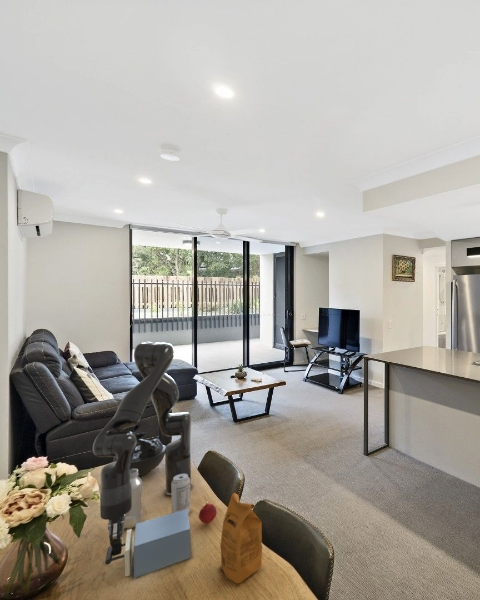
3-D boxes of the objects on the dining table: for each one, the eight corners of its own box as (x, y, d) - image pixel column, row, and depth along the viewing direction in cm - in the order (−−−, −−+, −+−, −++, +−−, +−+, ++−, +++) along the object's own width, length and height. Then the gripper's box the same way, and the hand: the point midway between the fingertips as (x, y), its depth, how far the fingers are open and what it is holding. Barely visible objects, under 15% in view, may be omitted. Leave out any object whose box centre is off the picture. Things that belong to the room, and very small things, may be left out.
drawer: (104, 584, 104) (103, 557, 104) (108, 559, 114) (108, 535, 114) (178, 558, 115) (177, 534, 114) (176, 537, 124) (176, 515, 124)
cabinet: (134, 578, 108) (133, 546, 108) (136, 552, 118) (135, 523, 118) (190, 558, 116) (190, 528, 116) (187, 535, 126) (187, 508, 126)
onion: (220, 520, 135) (220, 499, 135) (207, 530, 130) (207, 508, 129) (208, 517, 137) (208, 496, 137) (195, 526, 132) (195, 504, 131)
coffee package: (246, 550, 120) (246, 484, 119) (266, 569, 112) (265, 499, 111) (215, 567, 112) (215, 497, 111) (234, 589, 104) (233, 514, 103)
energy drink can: (186, 508, 142) (186, 471, 142) (192, 514, 138) (192, 476, 138) (169, 516, 138) (168, 477, 137) (175, 522, 134) (174, 482, 133)
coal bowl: (128, 465, 177) (128, 427, 177) (173, 462, 181) (173, 424, 180) (103, 487, 158) (102, 444, 157) (154, 483, 161) (153, 441, 161)
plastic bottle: (132, 532, 128) (131, 476, 128) (116, 529, 130) (115, 474, 129) (148, 521, 135) (147, 468, 134) (133, 518, 136) (132, 466, 135)
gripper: (130, 504, 107) (131, 561, 107) (132, 484, 118) (133, 536, 118) (97, 512, 102) (98, 572, 103) (102, 491, 113) (103, 546, 114)
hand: (117, 553), depth 110 cm, fingers closed
